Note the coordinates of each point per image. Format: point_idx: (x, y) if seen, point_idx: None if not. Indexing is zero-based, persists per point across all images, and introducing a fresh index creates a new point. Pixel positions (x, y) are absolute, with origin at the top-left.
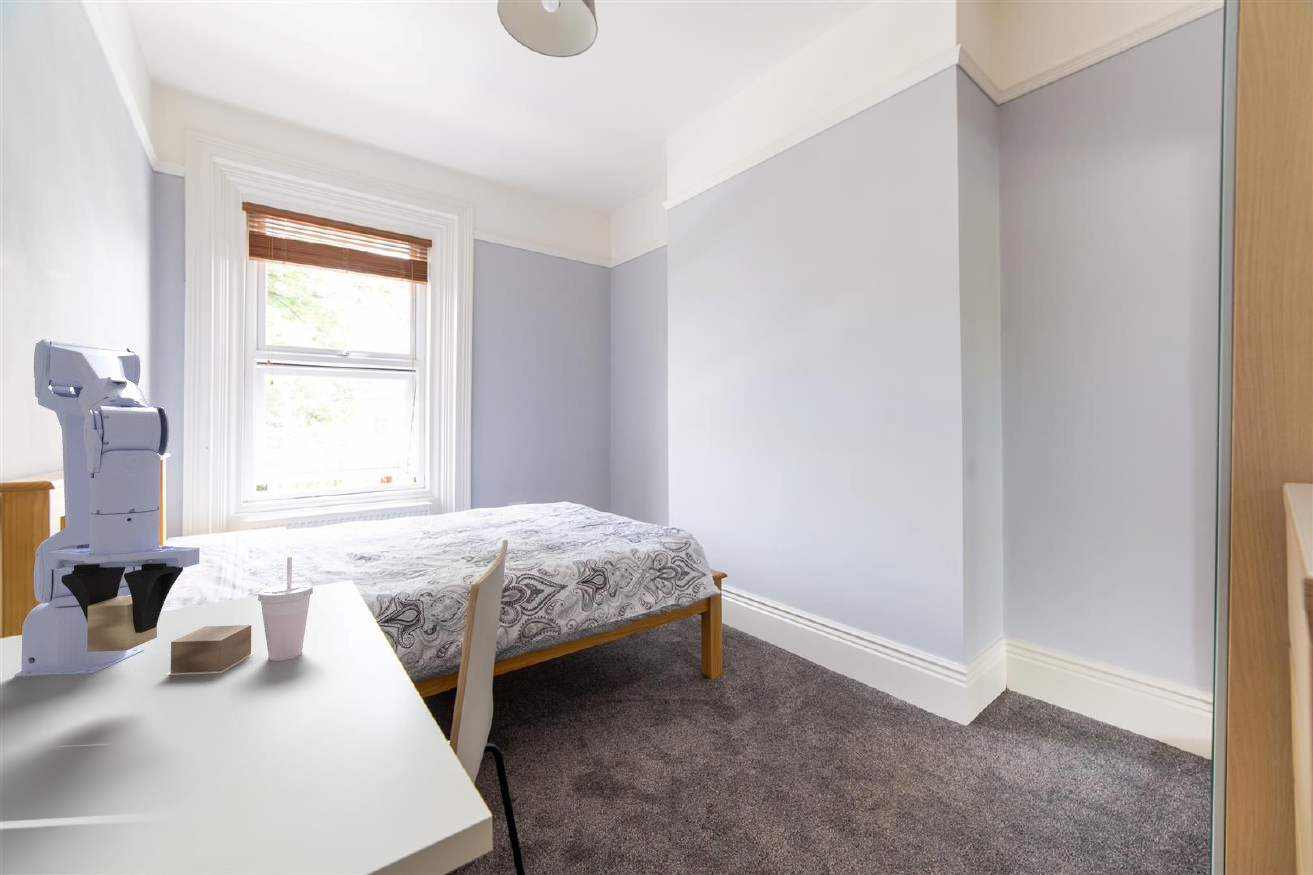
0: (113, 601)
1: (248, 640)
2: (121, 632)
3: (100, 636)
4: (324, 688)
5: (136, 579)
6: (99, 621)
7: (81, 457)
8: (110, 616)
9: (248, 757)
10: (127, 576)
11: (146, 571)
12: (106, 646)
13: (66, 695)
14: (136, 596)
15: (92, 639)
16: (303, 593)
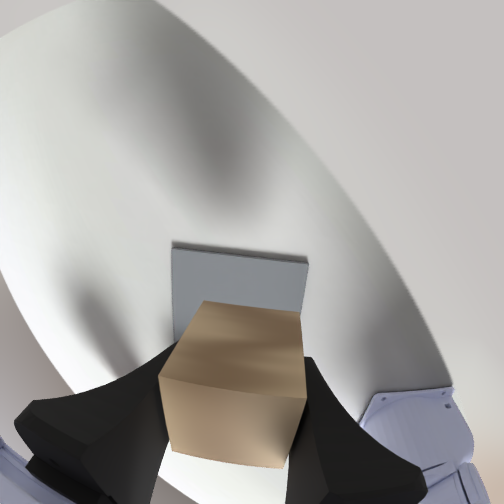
0: (254, 429)
1: None
2: (205, 327)
3: (266, 329)
4: (43, 279)
5: (57, 419)
6: (266, 357)
7: None
8: (227, 362)
9: (36, 123)
10: (69, 438)
11: (37, 446)
12: (251, 312)
13: (374, 341)
14: (124, 396)
15: (287, 327)
16: None
